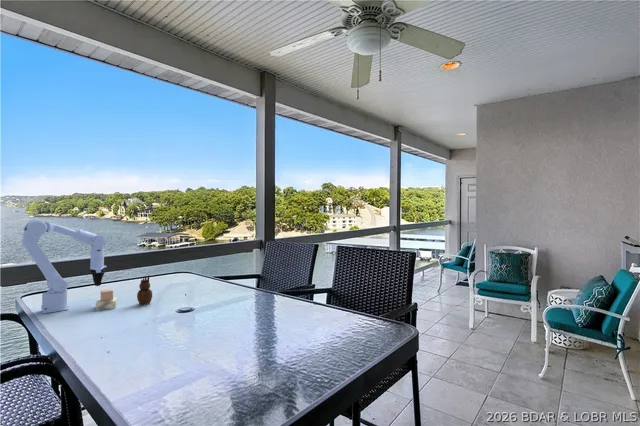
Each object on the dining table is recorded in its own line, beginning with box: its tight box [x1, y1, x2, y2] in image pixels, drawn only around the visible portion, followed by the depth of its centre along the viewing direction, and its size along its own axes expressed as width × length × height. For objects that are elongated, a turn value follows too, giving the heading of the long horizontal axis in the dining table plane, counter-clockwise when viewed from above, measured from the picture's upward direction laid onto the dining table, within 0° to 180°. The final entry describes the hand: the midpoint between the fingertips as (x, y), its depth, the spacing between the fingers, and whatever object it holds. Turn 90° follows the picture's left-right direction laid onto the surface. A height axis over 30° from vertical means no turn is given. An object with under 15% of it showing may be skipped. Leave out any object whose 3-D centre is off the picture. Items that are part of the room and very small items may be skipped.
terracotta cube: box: [100, 288, 114, 302], centre depth 161 cm, size 4×4×4 cm
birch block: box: [95, 296, 118, 311], centre depth 161 cm, size 8×8×4 cm
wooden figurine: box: [136, 274, 153, 306], centre depth 167 cm, size 7×6×15 cm
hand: (97, 284), depth 168 cm, fingers open, 7 cm apart
